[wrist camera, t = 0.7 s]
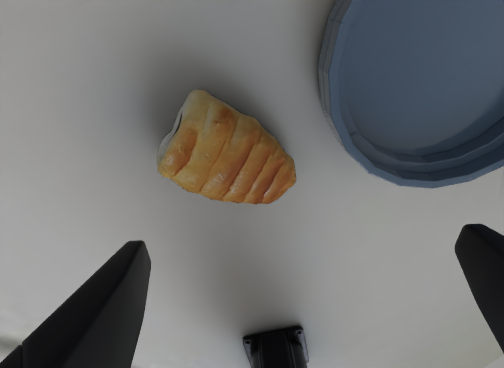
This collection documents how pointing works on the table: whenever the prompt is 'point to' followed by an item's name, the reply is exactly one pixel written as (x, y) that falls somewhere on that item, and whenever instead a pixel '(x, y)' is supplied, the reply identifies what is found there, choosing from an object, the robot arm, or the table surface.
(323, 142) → the table surface
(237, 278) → the table surface
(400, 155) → the glazed bowl
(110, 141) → the table surface
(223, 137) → the pastry
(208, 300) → the table surface
